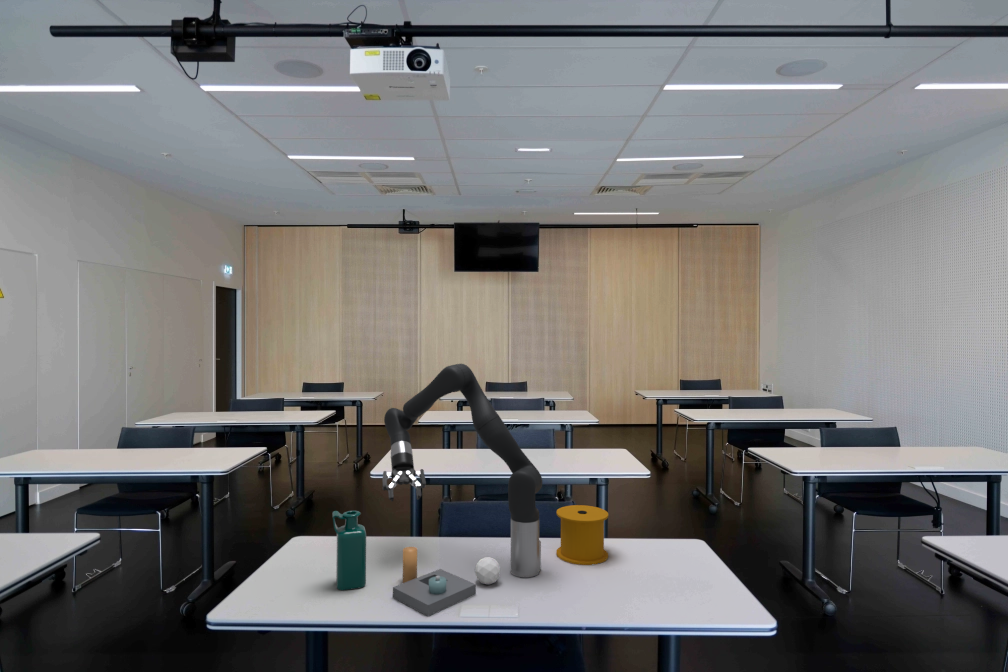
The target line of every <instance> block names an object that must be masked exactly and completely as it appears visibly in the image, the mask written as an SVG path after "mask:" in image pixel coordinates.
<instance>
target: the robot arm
mask: <svg viewBox="0 0 1008 672" xmlns="http://www.w3.org/2000/svg"><path fill="white" fill-rule="evenodd" d="M456 392H460V393H461V394H462V395H463V397H464V399H465V400H466V402H467V403H468V405H469V408H470V413H471V419H472V425H473V428H474V429H475V431H476V433H477V434H478V436H479V438H480V439H481V440H482V442H483V444H484V445H485V446H486V447H488V448H487V449H489V450H491V451H492V452H493V453H494V454H496V455H497V456H498V457H499V458H500V459H501V460H502V461H503V462H504V464H506V465H507V467H508V469H510V472H511V473H512V474H511V475H510V477H509V478H508V484H507V496H508V497H507V498H508V499H507V502H508V504H507V505H508V509H509V513H510V568H509V569H510V574H512V575H513V576H515V577H517V578H533V577H535V576H537V575H538V574H539V573H540V571H541V570H542V562H541V560H542V559H541V558H542V554H541V553H542V541H541V540H540V510H539V509H538V507H537V506H536V494H537V493H539V492H540V490H541V489H542V487H543V477H542V475H541V472H540V471H539V470H538V469H537V466H535V465H534V463H532V461H531V459H529V458H528V456H527V455H526V454H525V452H523V450H522V448H520V445H519V443H518V442H517V440H516V439H515V437H513V435H512V433H511V432H510V429H508V427H507V426H506V424H505V422H504V421H503V419H502V418H501V416H500V415H499V414H498V412H497V411H496V410H495V409H496V408H494V407H493V404H492V403H491V401H490V400H489V399H488V397H487V395H486V394H485V393H484V392H485V391H483V388H482V387H481V385H480V384H479V381H478V380H477V378H476V376H475V373H474V372H473V371H472V369H471V368H470V367H469V366H468V365H466V364H465V363H457V364H452V365H451V364H450V365H447V366H445V367H444V368H443V369H442V370H440V372H439V373H438V374H437V375H436V376H435V377H434V378H433V379H432V381H431V382H430V383H428V384H427V385H426V387H424V388H423V389H422V390H421V391H419V392H418V393H416V394H415V395H414V396H412V397H411V398H409V399H408V400H407V401H406V402H405V403H404V404H403V406H402V409H399V408H396V407H391V408H389V409H388V410H386V412H385V414H384V419H383V420H384V426H385V429H386V432H387V435H388V436H389V438H390V462H391V464H390V465H391V472H388V471H386V470H384V471H383V473H382V490H383V491H387V492H388V500H389V501H390V502H394V496H395V495H394V488H396V487H397V486H398V485H400V486H401V485H409V484H410V485H411V486H412V487H414V489H415V494H416V500H420V499H421V497H422V489H425V488H426V485H427V480H426V476H425V475H426V474H425V471H424V469H422V468H421V469H420V470H415V465H414V457H413V456H414V455H413V448H412V443H411V434H410V433H409V430H410V429H411V428H412V427H413V425H414V424H415V423H416V421H417V419H418V418H419V417H420V416H423V414H425V413H426V412H428V411H429V410H430V409H431V408H432V407H433V406H434V404H435V403H436V402H437V401H438V400H439V399H441V398H442V397H445V396H447V395H449V394H451V393H456ZM416 476H417V477H418V478H419V480H420V481H418V479H417V477H416ZM390 478H392V481H391V483H390V484H388V480H389V479H390Z"/></svg>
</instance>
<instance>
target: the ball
mask: <svg viewBox="0 0 1008 672" xmlns="http://www.w3.org/2000/svg"><path fill="white" fill-rule="evenodd" d="M474 570H475V571H474V573H475V576H476V579H477V581H479V583H480V584H483V585H487V586H489V585H491V584H494V583H496V582H497V581H498V579H499V578H500V573H501V568H500V563H499V562H498V561H497V559H495V558H493V557H489V556H485V557H483V558H481V559H480V560H478V562H477V563H476V564H475V569H474Z"/></svg>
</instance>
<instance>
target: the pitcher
mask: <svg viewBox="0 0 1008 672" xmlns="http://www.w3.org/2000/svg"><path fill="white" fill-rule="evenodd" d="M361 514H362V513H361V512H360V511H359V510H348V511H344V512H343V513H340V512H339V511H338V510H334V511H332V523H333V529H334V531H335V533H336V560H335V561H336V569H335V570H336V571H335V573H336V574H335V579H336V580H335V582H336V589H337V590H339V591H347V590H354V589H362V588H363V587H365V586H366V584H367V532H366V528H365V526H364V525H362V524H359V523H358V520H359V519H358V517H359V516H360V515H361ZM336 518H338V519H340V520H345V522H344V525H342V526H340V527H338V525H337V524H336Z"/></svg>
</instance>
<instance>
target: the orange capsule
mask: <svg viewBox="0 0 1008 672" xmlns="http://www.w3.org/2000/svg"><path fill="white" fill-rule="evenodd" d="M415 578H418V548H417V547H416V546H406V547H404V548H403V549H402V583H405V582H407V581H410V580H413V579H415Z"/></svg>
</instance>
